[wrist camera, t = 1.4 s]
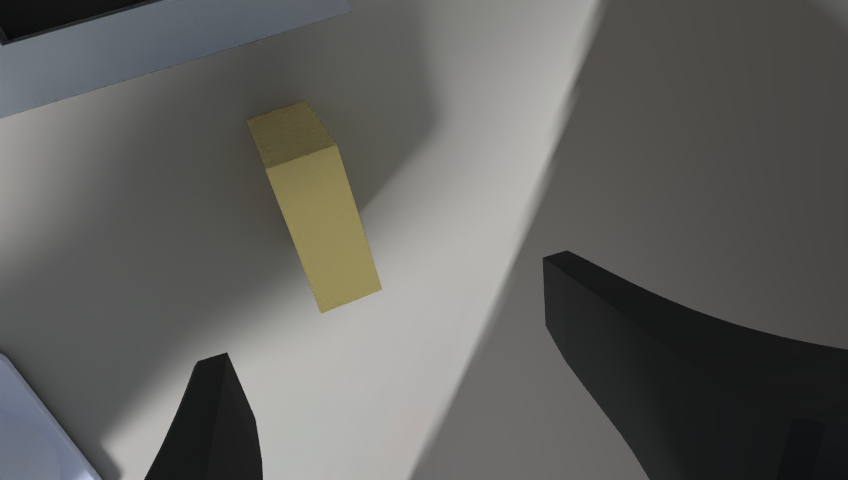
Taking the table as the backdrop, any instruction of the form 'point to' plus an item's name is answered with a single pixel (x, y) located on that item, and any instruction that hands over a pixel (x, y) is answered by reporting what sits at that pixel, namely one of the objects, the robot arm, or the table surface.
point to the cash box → (139, 43)
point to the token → (316, 204)
